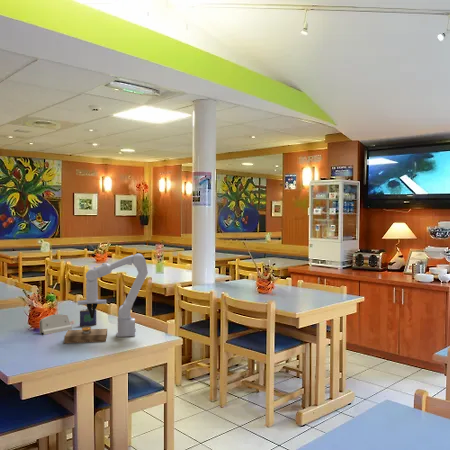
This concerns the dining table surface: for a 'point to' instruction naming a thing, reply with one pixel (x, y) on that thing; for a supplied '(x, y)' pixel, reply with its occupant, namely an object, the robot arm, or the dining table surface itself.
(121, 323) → the robot arm
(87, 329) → the pin
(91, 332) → the hitch block
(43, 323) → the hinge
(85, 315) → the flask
